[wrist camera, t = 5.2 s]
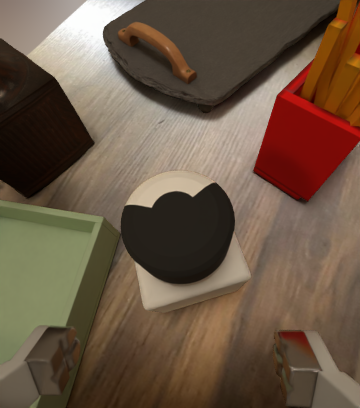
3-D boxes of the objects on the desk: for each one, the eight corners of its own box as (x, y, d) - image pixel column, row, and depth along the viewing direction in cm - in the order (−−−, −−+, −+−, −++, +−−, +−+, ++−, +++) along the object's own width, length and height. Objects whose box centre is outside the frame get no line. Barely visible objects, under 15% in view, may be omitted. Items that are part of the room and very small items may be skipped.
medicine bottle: (239, 290, 22) (273, 261, 11) (161, 314, 22) (117, 308, 11) (213, 218, 25) (219, 140, 14) (145, 238, 25) (97, 174, 14)
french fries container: (356, 150, 27) (493, -4, 14) (309, 209, 24) (421, 90, 12) (298, 119, 29) (368, -35, 16) (250, 170, 27) (289, 37, 14)
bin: (62, 419, 19) (22, 447, 15) (-93, 368, 22) (-163, 380, 18) (120, 233, 25) (103, 216, 21) (-6, 211, 28) (-44, 192, 24)
